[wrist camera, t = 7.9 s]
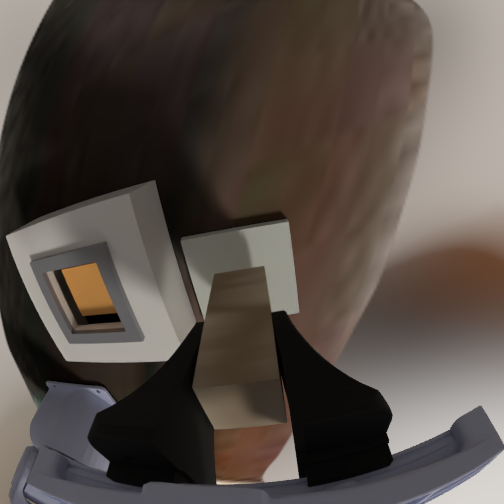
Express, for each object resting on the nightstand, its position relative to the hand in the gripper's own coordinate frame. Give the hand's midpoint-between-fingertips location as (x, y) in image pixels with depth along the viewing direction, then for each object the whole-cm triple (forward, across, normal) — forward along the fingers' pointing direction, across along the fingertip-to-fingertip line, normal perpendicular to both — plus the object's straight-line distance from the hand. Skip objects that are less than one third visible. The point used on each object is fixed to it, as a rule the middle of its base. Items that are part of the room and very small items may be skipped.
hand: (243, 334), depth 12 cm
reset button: (+6, +9, -2) cm, 11 cm away
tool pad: (+6, 0, 0) cm, 6 cm away
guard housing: (+6, +9, -2) cm, 11 cm away
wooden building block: (+4, 0, 0) cm, 4 cm away
